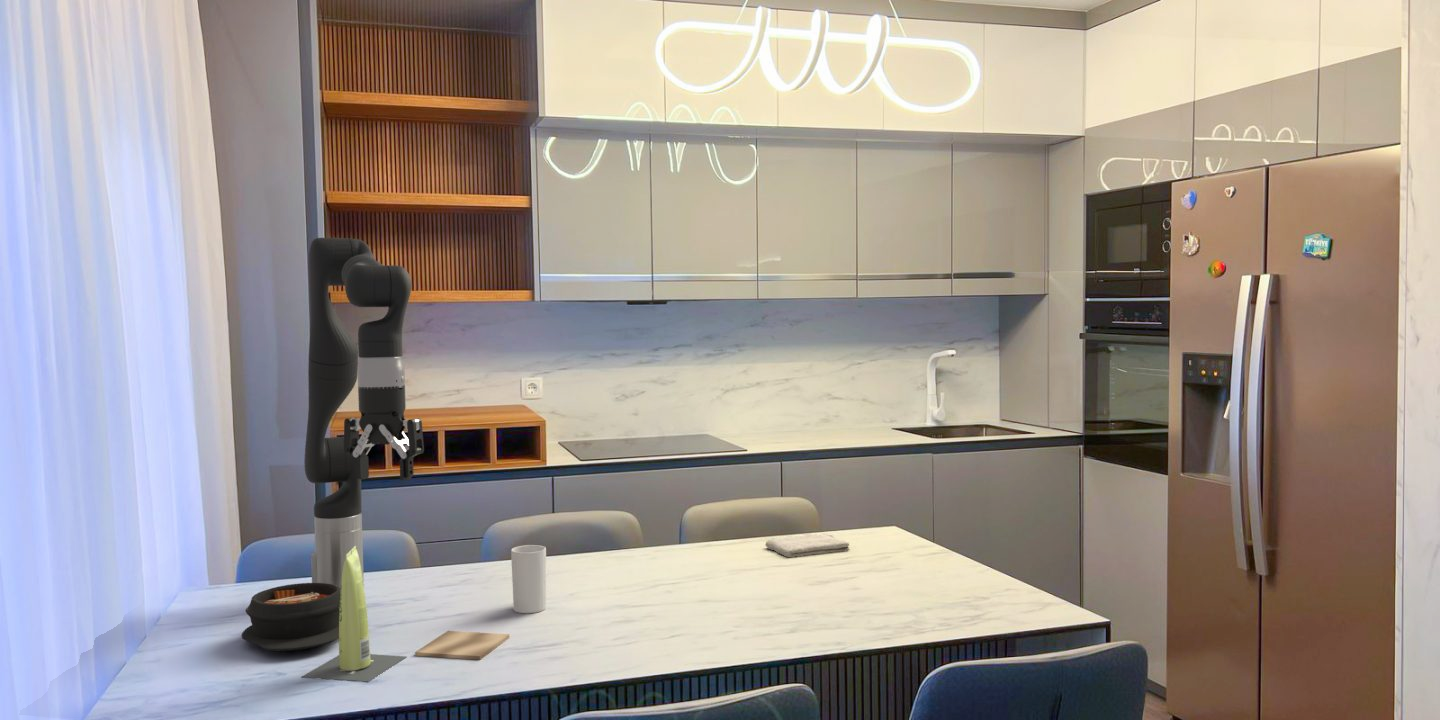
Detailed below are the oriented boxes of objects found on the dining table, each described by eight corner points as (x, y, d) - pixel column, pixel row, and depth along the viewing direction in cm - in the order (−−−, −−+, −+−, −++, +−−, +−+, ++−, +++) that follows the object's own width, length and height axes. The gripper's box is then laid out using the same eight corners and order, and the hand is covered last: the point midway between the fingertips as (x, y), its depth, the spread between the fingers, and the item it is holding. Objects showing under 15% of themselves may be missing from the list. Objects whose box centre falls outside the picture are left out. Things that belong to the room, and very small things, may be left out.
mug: (546, 613, 201) (545, 552, 200) (511, 615, 200) (510, 553, 199) (547, 598, 211) (546, 540, 210) (514, 600, 210) (512, 542, 209)
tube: (331, 666, 171) (327, 550, 170) (359, 658, 175) (355, 544, 174) (349, 674, 168) (345, 555, 167) (377, 665, 171) (374, 549, 171)
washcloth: (853, 552, 250) (853, 539, 250) (787, 560, 242) (787, 547, 242) (827, 542, 261) (827, 530, 261) (764, 550, 253) (764, 537, 253)
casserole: (240, 627, 194) (238, 583, 194) (345, 613, 202) (343, 571, 202) (242, 668, 172) (241, 618, 172) (360, 650, 180) (358, 603, 180)
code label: (301, 680, 167) (301, 676, 167) (343, 655, 179) (343, 652, 179) (368, 685, 164) (368, 681, 164) (407, 660, 176) (406, 656, 176)
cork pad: (415, 655, 177) (415, 652, 177) (448, 633, 188) (448, 630, 188) (480, 659, 174) (480, 656, 174) (509, 637, 186) (509, 634, 186)
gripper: (331, 385, 173) (334, 481, 173) (404, 385, 168) (407, 484, 169) (360, 382, 180) (363, 475, 180) (430, 382, 175) (433, 477, 176)
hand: (384, 479), depth 174 cm, fingers open, 8 cm apart
